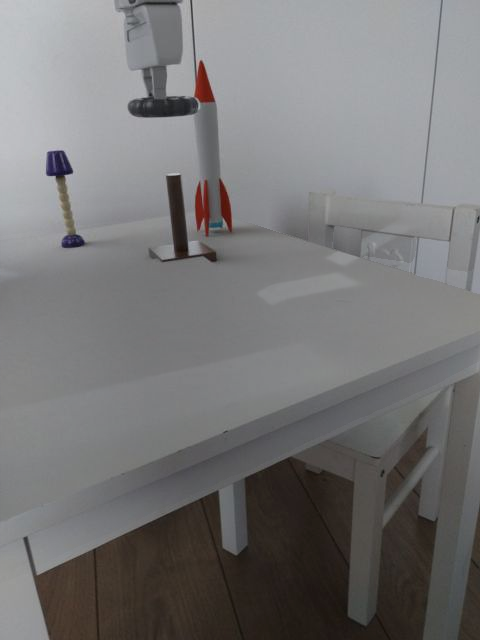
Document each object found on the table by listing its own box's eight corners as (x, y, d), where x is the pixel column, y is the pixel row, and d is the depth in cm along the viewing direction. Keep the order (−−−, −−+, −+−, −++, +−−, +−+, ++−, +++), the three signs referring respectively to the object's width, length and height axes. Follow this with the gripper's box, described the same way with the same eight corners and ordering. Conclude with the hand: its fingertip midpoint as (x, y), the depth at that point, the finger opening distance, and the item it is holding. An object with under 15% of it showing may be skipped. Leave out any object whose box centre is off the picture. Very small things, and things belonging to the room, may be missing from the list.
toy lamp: (54, 245, 107) (36, 151, 100) (75, 240, 110) (58, 149, 103) (71, 248, 104) (53, 152, 97) (91, 242, 108) (75, 149, 101)
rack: (163, 269, 90) (152, 180, 84) (149, 256, 97) (138, 174, 91) (216, 260, 93) (210, 174, 87) (199, 248, 100) (192, 168, 95)
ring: (137, 119, 79) (135, 100, 78) (123, 115, 88) (121, 98, 86) (209, 115, 82) (207, 96, 81) (188, 111, 91) (187, 94, 90)
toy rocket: (233, 232, 110) (223, 58, 98) (206, 236, 108) (192, 59, 95) (222, 227, 115) (211, 60, 102) (196, 231, 113) (181, 61, 100)
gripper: (109, 6, 89) (123, 102, 95) (138, -16, 72) (152, 103, 78) (149, 6, 91) (160, 100, 97) (186, -15, 74) (196, 100, 80)
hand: (157, 101), depth 87 cm, fingers closed on ring, 2 cm apart
